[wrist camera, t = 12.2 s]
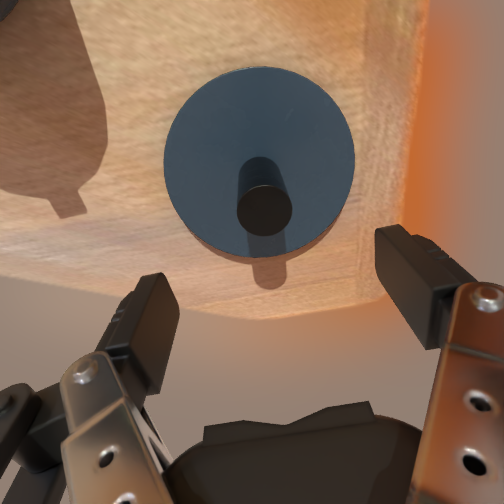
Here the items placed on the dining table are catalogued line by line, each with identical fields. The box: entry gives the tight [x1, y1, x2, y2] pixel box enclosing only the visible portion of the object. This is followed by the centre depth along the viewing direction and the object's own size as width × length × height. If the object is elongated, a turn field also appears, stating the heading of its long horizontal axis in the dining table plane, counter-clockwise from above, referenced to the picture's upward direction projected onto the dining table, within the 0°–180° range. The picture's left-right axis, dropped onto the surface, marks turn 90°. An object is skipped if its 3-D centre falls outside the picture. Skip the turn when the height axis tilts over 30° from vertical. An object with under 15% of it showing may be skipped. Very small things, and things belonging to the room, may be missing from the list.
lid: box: [164, 66, 355, 258], centre depth 19 cm, size 13×13×7 cm
